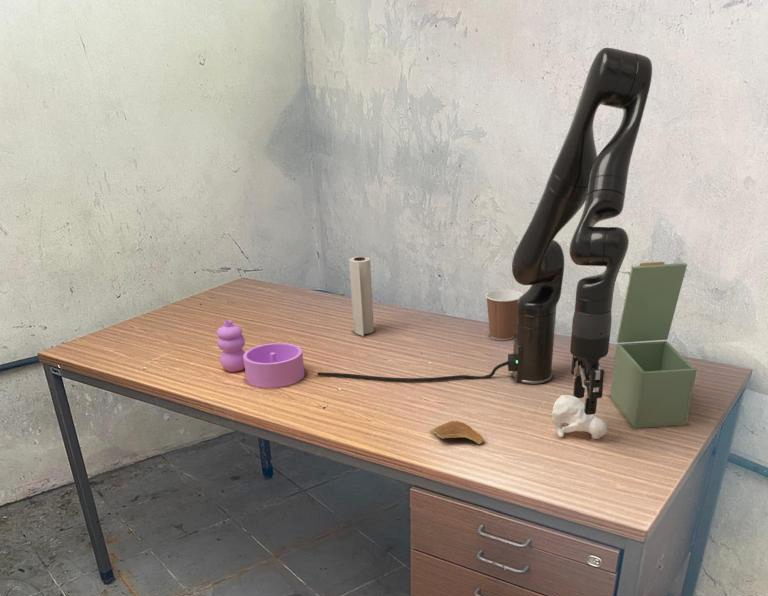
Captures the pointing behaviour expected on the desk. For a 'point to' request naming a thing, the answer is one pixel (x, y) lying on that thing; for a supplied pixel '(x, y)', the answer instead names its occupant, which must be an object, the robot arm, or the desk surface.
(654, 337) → the lid
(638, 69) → the robot arm
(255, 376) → the container set
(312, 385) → the desk surface
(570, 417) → the white lumpy piece
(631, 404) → the chest
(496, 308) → the coffee cup
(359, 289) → the beige tall hexagonal prism
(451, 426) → the pottery shard
